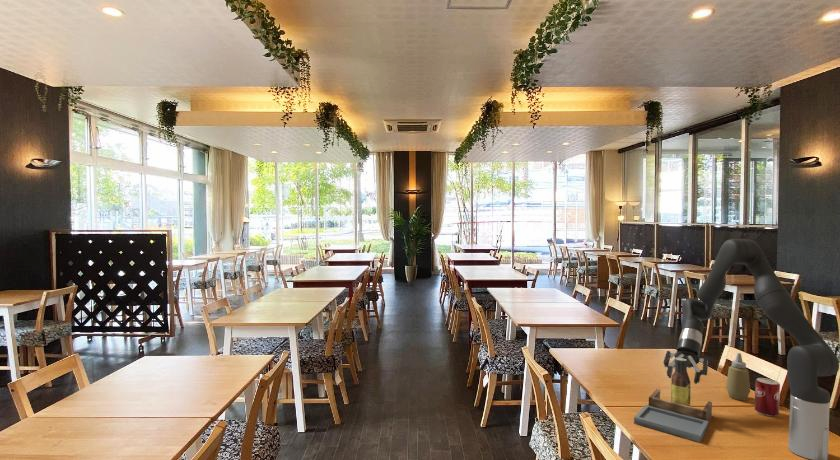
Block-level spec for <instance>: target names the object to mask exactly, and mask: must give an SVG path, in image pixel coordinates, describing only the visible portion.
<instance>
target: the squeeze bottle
mask: <svg viewBox="0 0 840 460" xmlns="http://www.w3.org/2000/svg"><path fill="white" fill-rule="evenodd" d="M725 383H726V384H725V388H726V392H727V394H728V397H729V398H732V399H734V400H738V401H746V400H747V399H748V397H749V395H750V392H751V385H750V375H749V369H748V368H747V363H746V362H744V361H743V356H742V354H741V352H737V353H736V356H735V360H732V361H731V365H730V366H728V371H727V377H726V382H725Z"/></svg>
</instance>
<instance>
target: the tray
mask: <svg viewBox="0 0 840 460" xmlns="http://www.w3.org/2000/svg"><path fill="white" fill-rule="evenodd" d="M633 424H635V425H639V426H643V427H646V428H649V429H653V430H655V431H656V430H657V431H660V432H663V433H667V434H669V433H670V435H673V436H675V437H680V438H683V439H687V440H690V441H693V442H697V443H701V442H702V440H703V438H704V436H705V435H706V432H707V430H708V429H709V421H705V420H701V419H698V418H694V417H690V416H686V415H682V414H678V413H675V412H671V411H667V410H663V409H659V408H656V407H652V406H649V404H648V405H647V404H645V405H644V406H643V407H642V408H641V409H640V410H639V412H637V414H636V415H634V416H633Z"/></svg>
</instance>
